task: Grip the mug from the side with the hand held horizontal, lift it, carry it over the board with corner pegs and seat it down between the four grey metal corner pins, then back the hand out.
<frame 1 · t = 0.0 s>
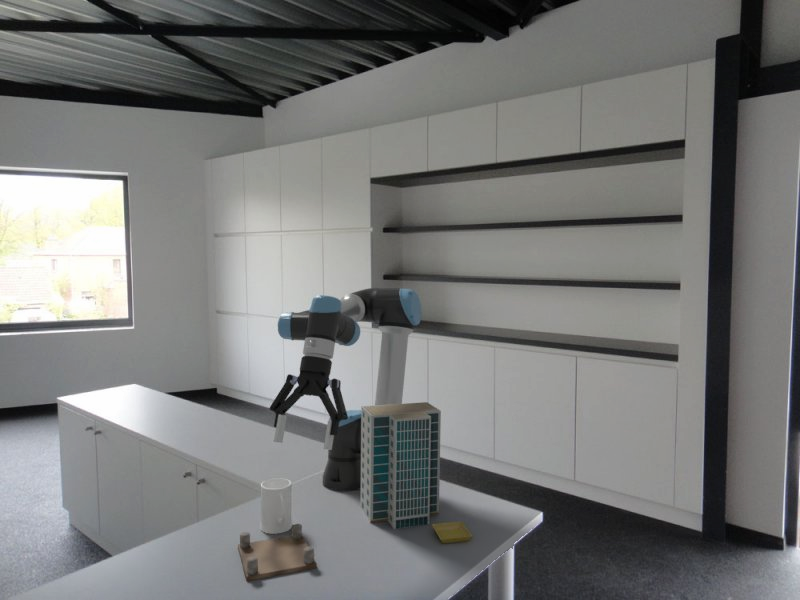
hand: (302, 445, 136), 28 cm above the table, tool tilted 20°, fingers open, 13 cm apart
yellow square slab: (451, 538, 151), on the table
board with corner pegs: (276, 557, 138), on the table
mug: (277, 530, 153), on the table
building model: (402, 515, 164), on the table
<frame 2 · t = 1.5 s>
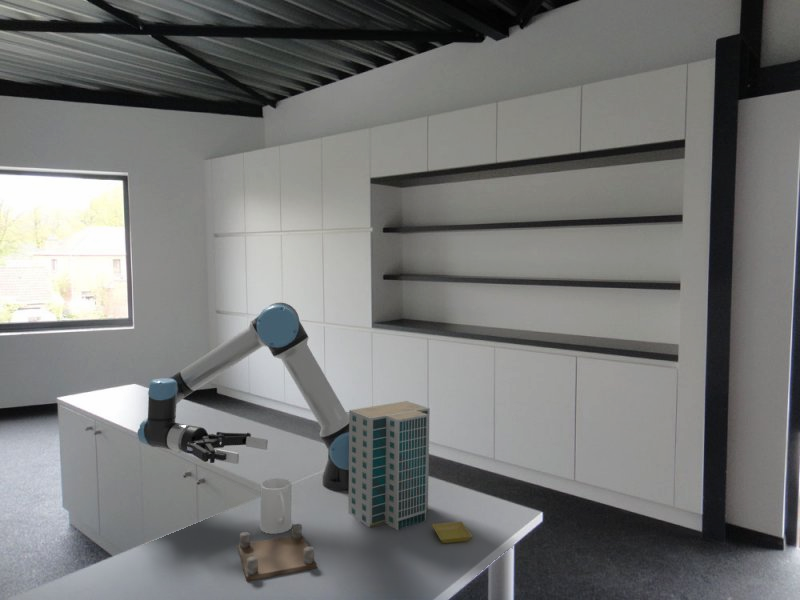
hand: (253, 451, 155), 20 cm above the table, tool horizontal, fingers open, 13 cm apart
building model: (394, 515, 164), on the table
everything else where it was.
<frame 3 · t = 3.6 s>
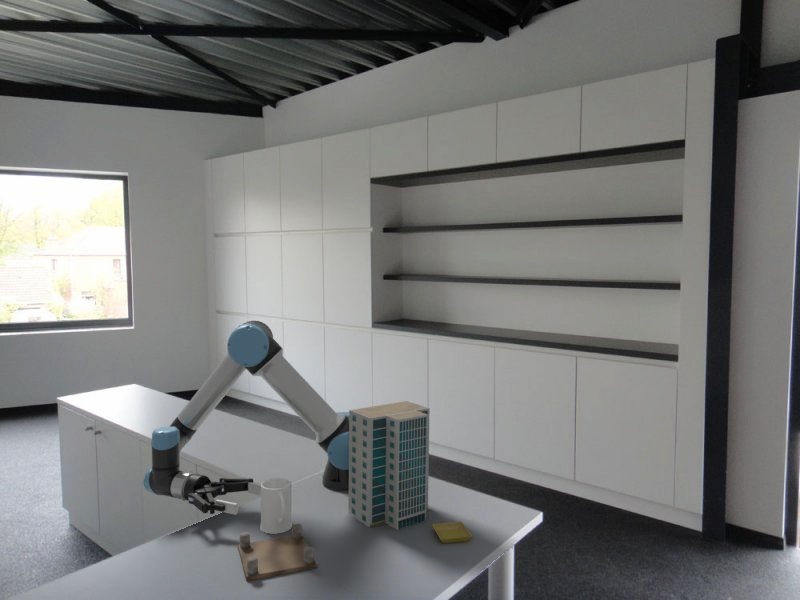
hand: (252, 499, 156), 7 cm above the table, tool horizontal, fingers open, 13 cm apart
nothing on the table moved.
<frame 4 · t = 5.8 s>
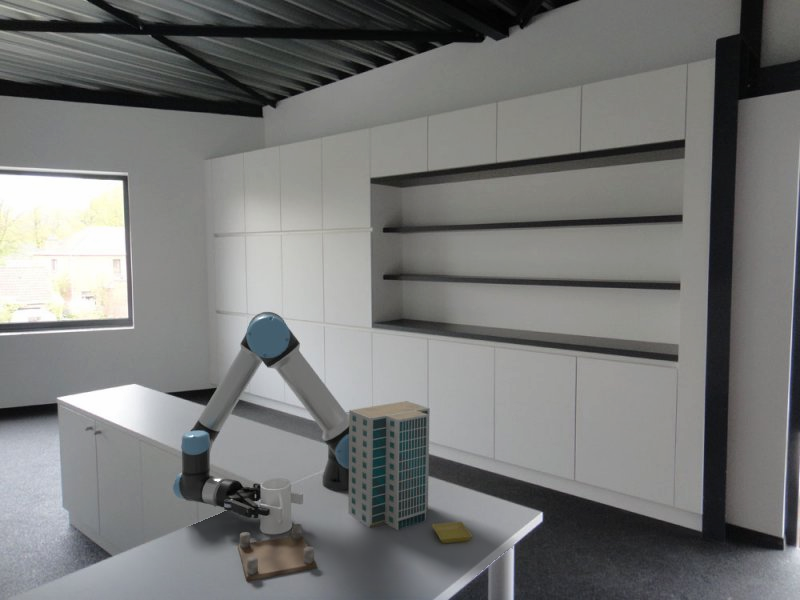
hand: (292, 506, 151), 7 cm above the table, tool horizontal, fingers closed on mug, 9 cm apart
mug: (276, 530, 153), on the table, touching gripper
everything else where it was.
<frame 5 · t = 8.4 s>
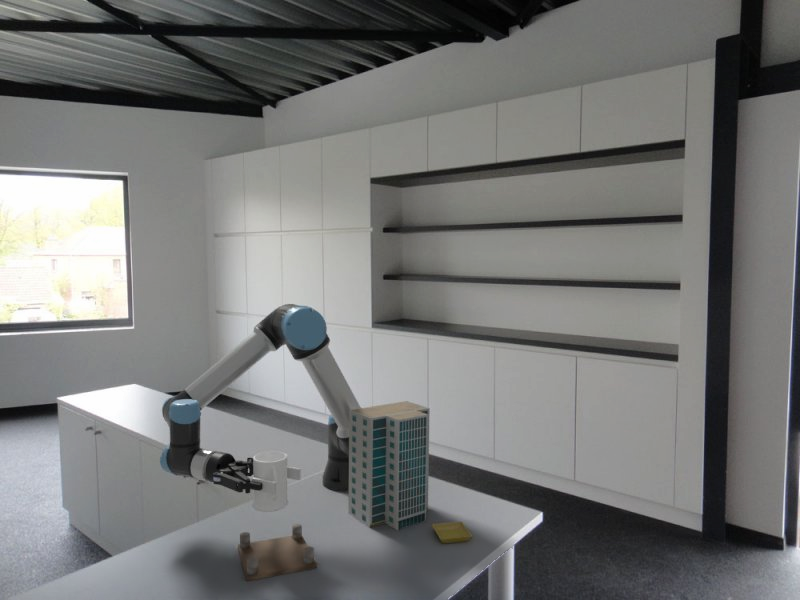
hand: (287, 481, 137), 19 cm above the table, tool horizontal, fingers closed on mug, 9 cm apart
mug: (270, 508, 138), point 12 cm above the table, touching gripper
everything else where it was.
when the fingers open (9 cm above the table, at t = 10.8 s): mug drops 1 cm, resting on board with corner pegs.
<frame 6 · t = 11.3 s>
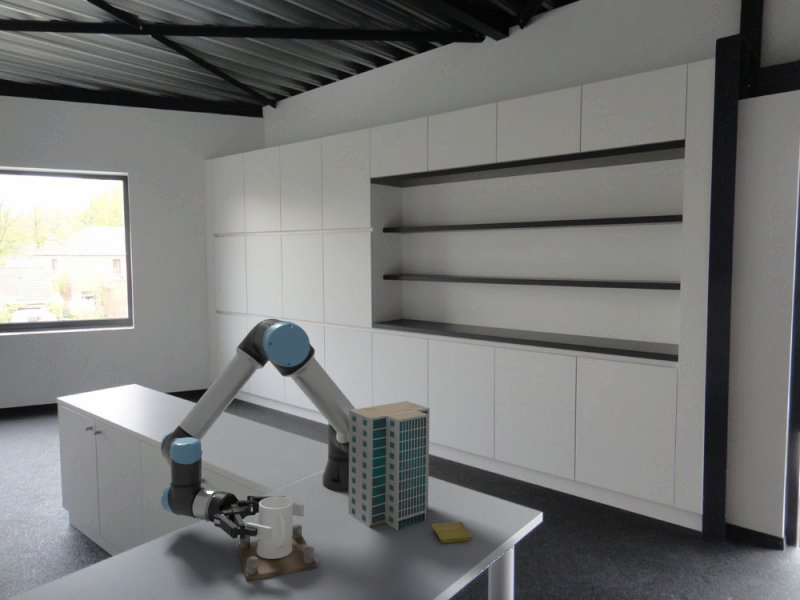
hand: (287, 521, 137), 9 cm above the table, tool horizontal, fingers open, 13 cm apart
mug: (275, 554, 138), point 1 cm above the table, touching board with corner pegs
everything else where it was.
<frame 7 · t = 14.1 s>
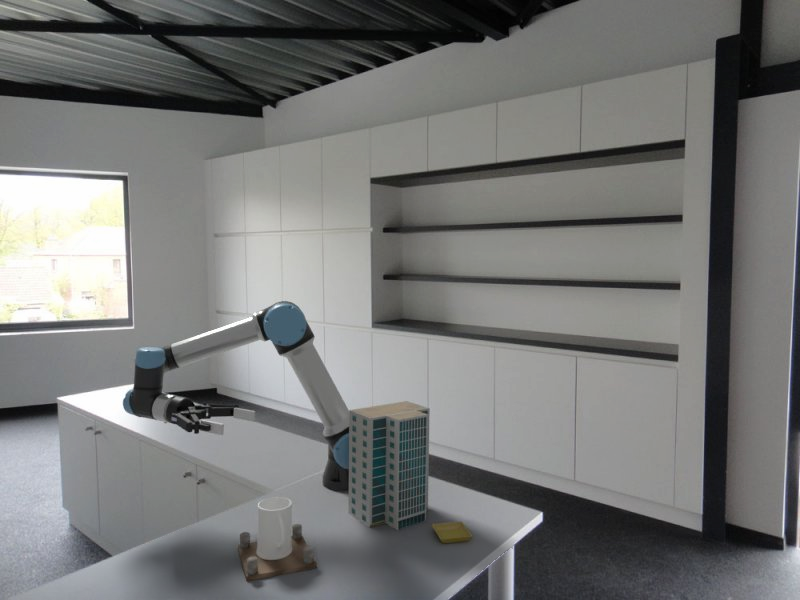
hand: (239, 422, 150), 29 cm above the table, tool horizontal, fingers open, 13 cm apart
nothing on the table moved.
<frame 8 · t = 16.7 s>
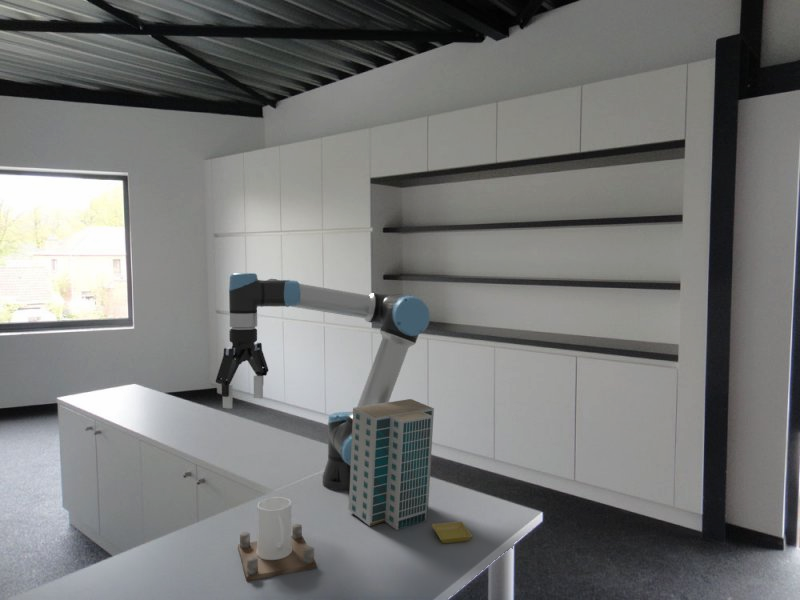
hand: (243, 402, 162), 32 cm above the table, tool pointing down, fingers open, 13 cm apart
building model: (394, 513, 164), on the table, touching arm
everything else where it was.
at the end: mug inside the target area on the board with corner pegs (0.5 cm from its centre), point 0.8 cm above the board with corner pegs's base; mug tilted 0°; the gripper is holding nothing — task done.
